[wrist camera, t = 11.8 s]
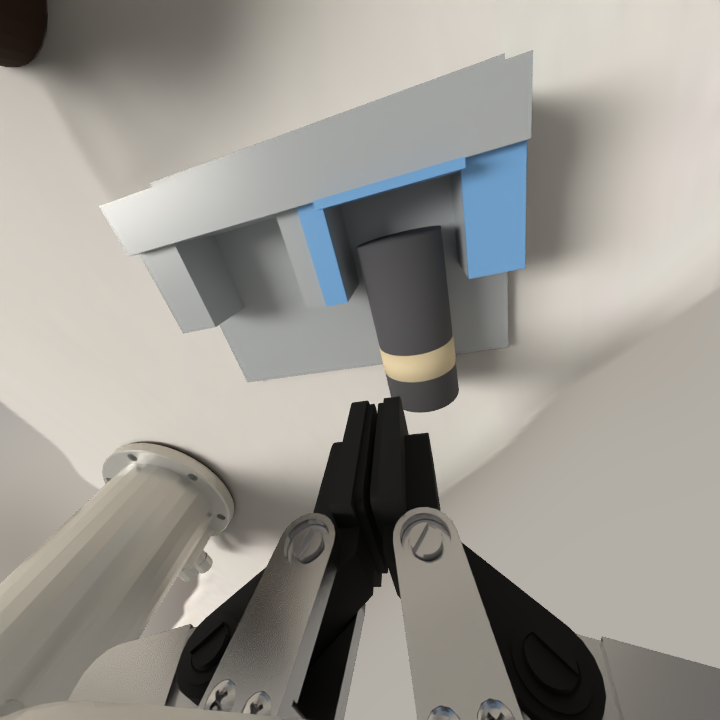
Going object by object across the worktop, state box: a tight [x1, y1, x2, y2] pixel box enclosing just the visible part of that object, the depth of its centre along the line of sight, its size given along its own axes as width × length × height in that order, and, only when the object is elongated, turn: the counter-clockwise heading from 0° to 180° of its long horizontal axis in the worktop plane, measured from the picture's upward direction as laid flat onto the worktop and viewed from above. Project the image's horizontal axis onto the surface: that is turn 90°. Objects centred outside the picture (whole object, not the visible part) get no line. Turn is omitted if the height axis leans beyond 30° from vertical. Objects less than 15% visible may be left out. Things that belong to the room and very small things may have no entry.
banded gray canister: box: [356, 225, 459, 412], centre depth 14 cm, size 8×4×4 cm, turn 14°
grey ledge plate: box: [99, 50, 533, 382], centre depth 14 cm, size 12×16×5 cm
